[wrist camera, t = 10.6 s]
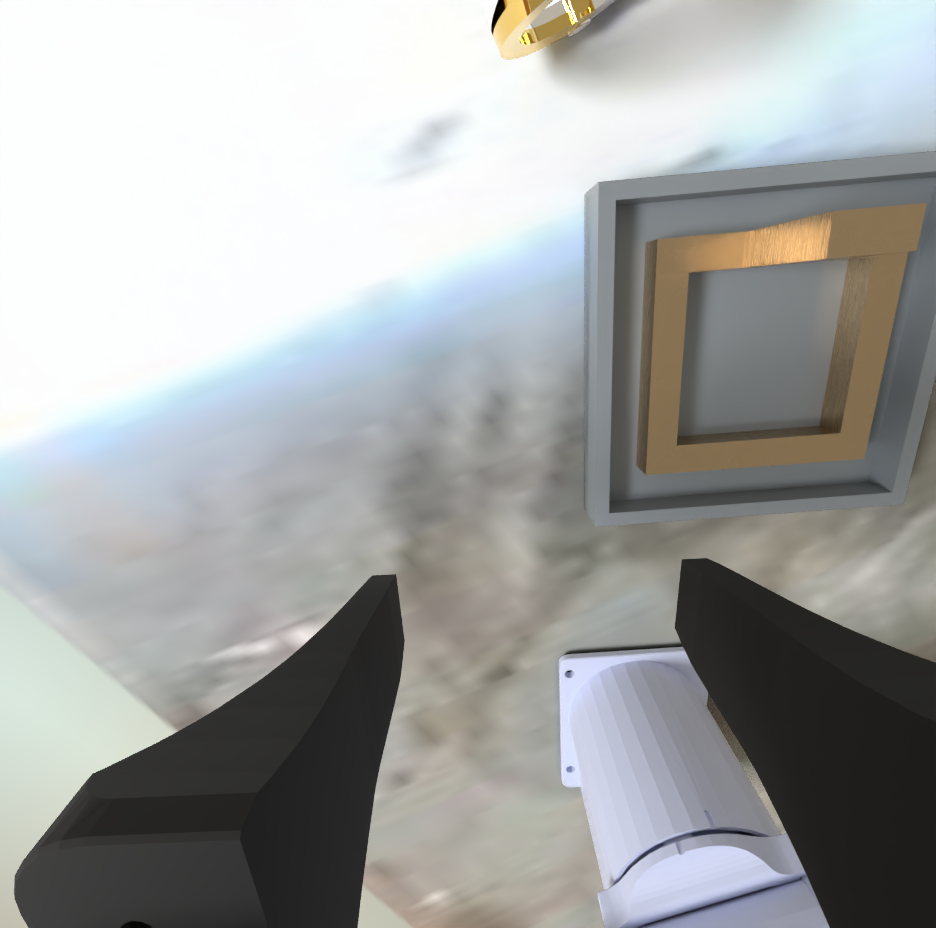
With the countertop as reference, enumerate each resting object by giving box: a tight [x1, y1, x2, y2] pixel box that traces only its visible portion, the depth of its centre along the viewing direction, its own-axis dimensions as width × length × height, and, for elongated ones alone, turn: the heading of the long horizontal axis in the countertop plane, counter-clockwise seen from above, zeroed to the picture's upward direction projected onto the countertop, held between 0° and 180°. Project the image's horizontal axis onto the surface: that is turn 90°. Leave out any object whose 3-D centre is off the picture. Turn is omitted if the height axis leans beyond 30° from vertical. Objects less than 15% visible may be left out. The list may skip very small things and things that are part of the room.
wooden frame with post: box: [636, 203, 927, 475], centre depth 17 cm, size 9×9×5 cm
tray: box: [584, 151, 936, 527], centre depth 19 cm, size 13×13×2 cm
